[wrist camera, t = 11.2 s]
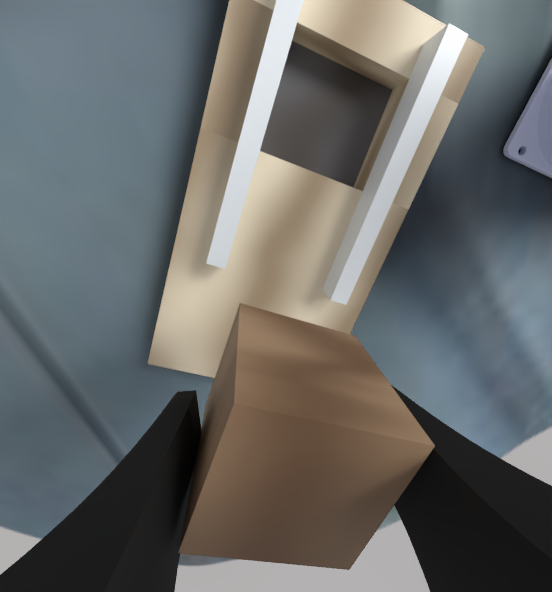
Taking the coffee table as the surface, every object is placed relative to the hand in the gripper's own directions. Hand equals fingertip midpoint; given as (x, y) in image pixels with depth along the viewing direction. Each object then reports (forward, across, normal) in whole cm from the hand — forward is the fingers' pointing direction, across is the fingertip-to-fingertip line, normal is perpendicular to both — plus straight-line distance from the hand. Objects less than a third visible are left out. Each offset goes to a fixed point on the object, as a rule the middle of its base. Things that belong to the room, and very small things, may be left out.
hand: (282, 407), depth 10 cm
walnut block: (+1, 0, 0) cm, 1 cm away
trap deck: (+10, -2, -5) cm, 12 cm away
